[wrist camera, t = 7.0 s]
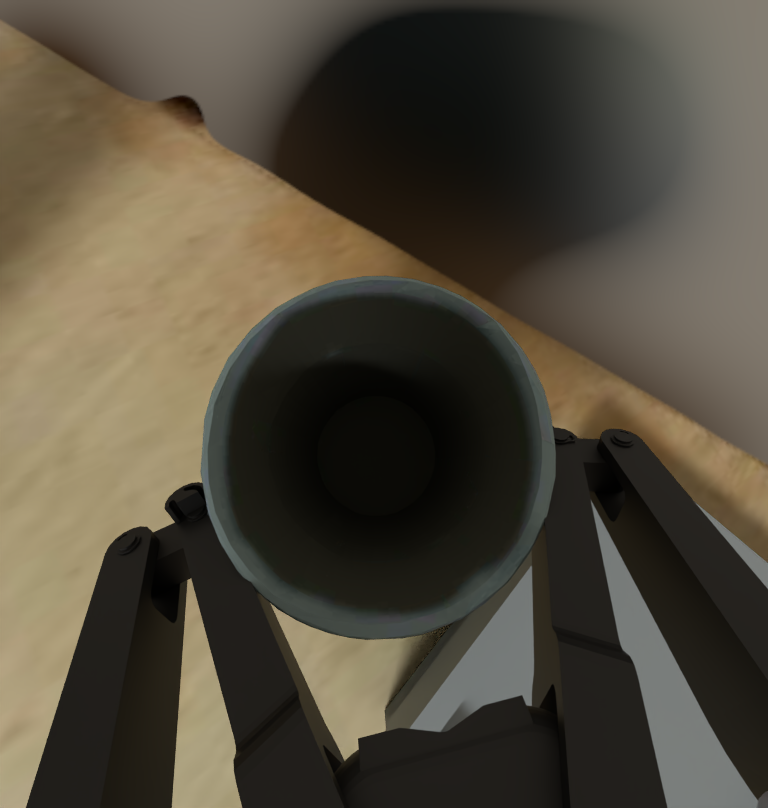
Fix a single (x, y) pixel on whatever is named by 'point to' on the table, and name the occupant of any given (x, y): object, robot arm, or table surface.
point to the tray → (514, 669)
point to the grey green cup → (378, 457)
